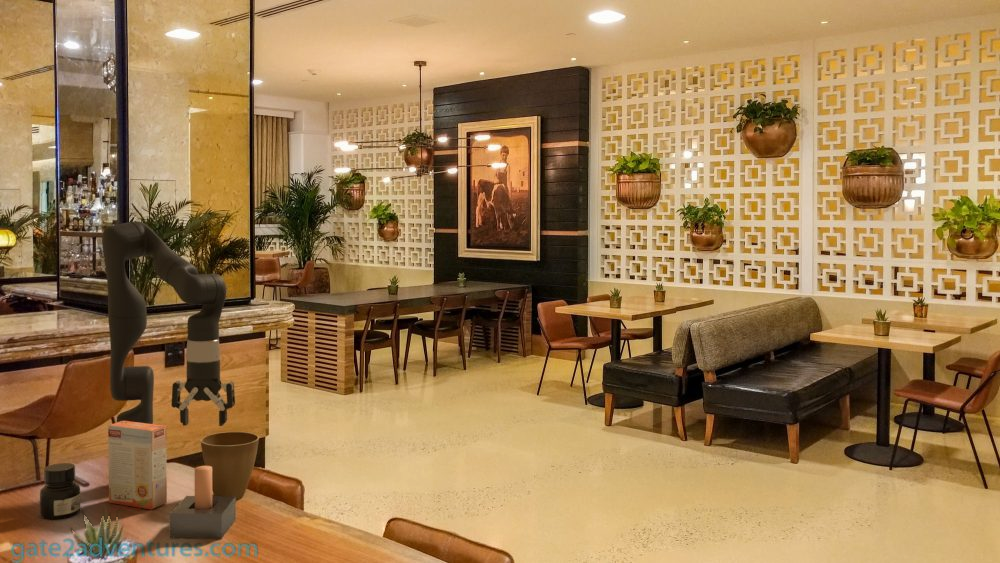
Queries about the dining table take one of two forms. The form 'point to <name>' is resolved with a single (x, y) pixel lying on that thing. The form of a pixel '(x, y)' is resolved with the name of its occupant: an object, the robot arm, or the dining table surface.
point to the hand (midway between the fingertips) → (203, 425)
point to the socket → (203, 518)
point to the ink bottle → (59, 492)
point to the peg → (203, 487)
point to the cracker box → (137, 464)
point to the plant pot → (230, 461)
